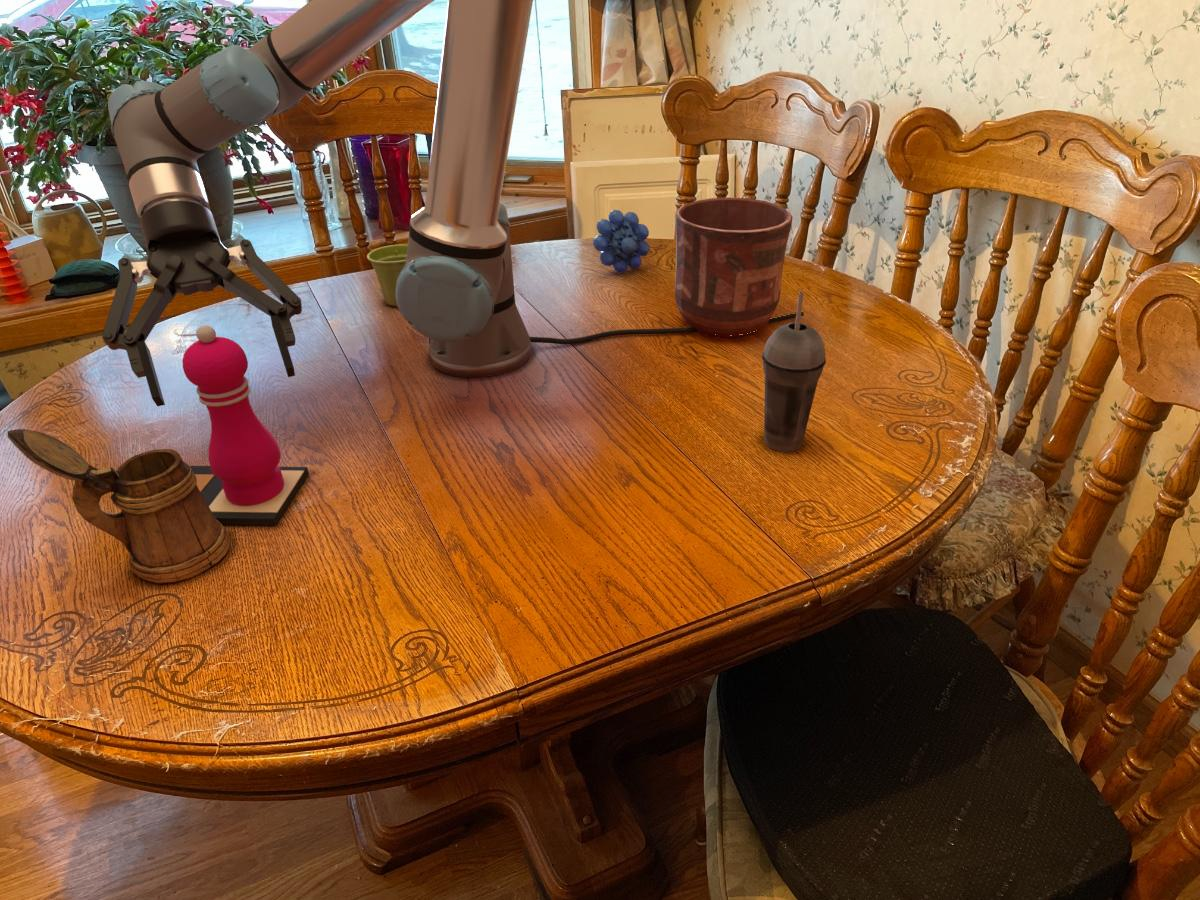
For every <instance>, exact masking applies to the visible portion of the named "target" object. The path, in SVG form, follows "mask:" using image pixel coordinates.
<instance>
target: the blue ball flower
mask: <svg viewBox="0 0 1200 900" xmlns="http://www.w3.org/2000/svg"><path fill="white" fill-rule="evenodd" d="M596 230H597V232H598V234H597V235H596V236H595V237H594V238H593V240H592V245H593V247H594V249H595V250H596V251H597V252H600V254H599V261H600V262H601V264H602V266H605V267H611V266H612V267H613V269H614V271H616V272H617V273H621V274H624V273H625V272H627V270H628V269H629V268H631V269H632V270H633V269H634V270H637V269H639V268H640V266H642V262H643V260H642V258H641V257H646V256H648V255H649V253H650V251H651V247H650V244H649V243H648V242H647V241H646V240H647V239H648V237H649V235H650V232H649V229H648V226H647V225H645V224H644V223H640V219H639V217H638V214H636V213H635V212H634V211H627V212H626V213H625V214H624V213H623V212H622V211H621V210H620V209H613V210H611V211H610V212H609V214H608V219H607V218H606V219H605V218H601V219H599V220H598V221H597V224H596Z"/></svg>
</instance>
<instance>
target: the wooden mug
mask: <svg viewBox="0 0 1200 900" xmlns="http://www.w3.org/2000/svg"><path fill="white" fill-rule="evenodd" d="M6 435H7V436H6V437H7V439H8V440H9V441H10V442H11V444H13V445H14V446H15V447H16V448H17V449H18V451H20V452H21V453H22V454H23V456H25V458H27V459H28V460H29V461H31V462H32V463H33V464H35V465H36V466H39V467H40V468H42V469H44V470H46V471H48V472H50V473H52V474H54V475H56V476H58V477H60V478H63V479H65V480H67V481H68V480H69V481H74V484H73V487H72V497H71V499H72V502H73V503H74V508H75V510H76V512H77V513H78V514H79V515H80V516H81V517H82V519H83V520H84V521H86V522H88V523H89V524H91V525H92V526H94V527H95V528H97V529H99V530H100V531H103V533H106V534H108V535H110V536H112V537H114V538H115V539H116V540H118V541H119V542H121V543H122V544H123V546H124V547H125V549H126V550H127V552H128V553H129V555H128V556H129V557H128V558H129V564H130V569H131V571H132V573H134V574H135V575H136V576H137V577H139V578H141V579H143V580H145V581H147V582H150V583H154V584H159V585H161V584H169V583H177V582H181V581H185V580H188V579H190V578H191V579H192V578H194V577H197V576H199V575H200V574H202V573H204V572H206V571H207V570H209V569H210V568H212V567H213V566H214V565H216V564H217V563H219V562H220V560H221V559H222V558H223V557H225V556H226V554H227V553H228V551H229V549H230V546H231V545H230V544H231V539H230V537H229V534H228V532H227V531H226V529H225V527H224V525H222V524H221V523H220V522H219V521H218V520H216V518H215V516H214V515H213V513H212V511H211V510H210V508H209V506H208V504H207V503H206V501H205V499H204V497H203V496H202V494H201V492H200V490H199V489H198V487H197V485H196V484H197V478H196V476H195V474H194V473H193V471H192V469H191V468H190V467H189V466H190V465H189V464H188V463H186V462H185V460H183V458H182V456H181V454H180V452H178V451H176V450H174V449H171V448H159V449H157V448H156V449H151V450H147V451H144V452H141V453H138V454H136V455H133V456H131V457H130V458H128V459H126V460H125V461H124V462H123V463H122V464H121V465H119V467H117V469H115V468H114V467H106V468H101V469H99V468H97V467H96V466H93V465H91V464H89V462H88V461H87V460H86V459H85V458H84V457H83V456H82V455H81V454H80V453H79V452H78V451H77V450H75V449H74V448H73V447H71V446H70V445H68V444H66V443H65V442H63V441H61V440H60V439H58V438H57V437H56V438H55V437H54V436H51V435H49V434H47V433H44V432H43V431H38V430H33V429H27V428H17V429H11V430H8V431H7V434H6ZM109 493H112V494H111V496H110V500H111V502H112V504H113V505H114V506H115V507H116V508H118V509H120V512H118V513H107V512H106V511H103V510H102V509H101V506H100V500H101V498H102V497H103V496H105V495H107V494H109Z"/></svg>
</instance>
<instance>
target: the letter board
mask: <svg viewBox="0 0 1200 900" xmlns="http://www.w3.org/2000/svg"><path fill="white" fill-rule="evenodd" d="M189 467H190V468H191V469H192V471H193V473H194V474H195V476H196V478H197V484H196V485H197V487H198V489H199V490H200V492H201V494H202V496H203V497H204V499H205V501H206V503H207V504H208V506H209V508H210V510H211V511H212V513H213V515H214V516H215V518H216V520H218V521H219V522H220V523H221V524H222V526H258V527H259V526H261V527H263V526H264V527H265V526H267V527H270V526H271V527H276V526H277V524H278V523H279V522H280V520H281V518H282V517H283V515H284V513H285V512H286V510H287V509H288V507H289V506H290V504H291V502H292V501H293V499H294V498H295V496H296V494H297V493H298V491H299V490H300V488H301V487H302V485H303V483H305V481H306V479H307V478H308V476H309V474H310V473H309V469H308V466H278V467H279V468H280V469H281V472H282V475H283V479H284V487H283V489H282V490H281V492H280V493H279V494H277V495H276V496H275V497H273V498H272V499H270V500H267V501H265V502H262V503H259V504H255V505H247V506H246V505H236V504H233V503H231V502H230V501H228V499H227V498H226V495H225V492H224V490H223V487H222V482H223V480H221V479H219V478H218V477H216V476H215V475H214V473H213V472H212V470H211V467H210V465H189Z"/></svg>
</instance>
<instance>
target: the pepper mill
mask: <svg viewBox="0 0 1200 900" xmlns="http://www.w3.org/2000/svg"><path fill="white" fill-rule="evenodd" d="M215 330H216V329H214V328H213V326H210V325H206V324H203V325H201V326H199V327H198V328H197V329H196V331H195V332H196V333H195V335H196V338H197V339H198V340H196V341H195V342H193V343H191V344H190V345H189V346H188V347H187V349H185V351H184V354H183V356H182V369H183V373H184V375H185V377H186V378H187V380H188V381H189V382H190V383H192V384H193V385H195V386H196V393H197V395H198V400H199V402H200V403H201V404H202V405H203V406H206V409H207V411H208V414H209V415H208V416H209V419H210V428H211V429H210V431H211V432H210V438H209V445H208V462H209V466H210V467H211V470H212V472H213V473H214V475H215V476H216V477H218V478H219V479H221V480H223V482H222V487H223V490H224V492H225V495H226V498H227V499H228V501H230V502H231V503H233V504H236V505H246V506H247V505H255V504H259V503H262V502H265V501H267V500H270V499H272V498H273V497H275V496H276V495H277V494H279V493H280V492H281V490H282V489H283V487H284V479H283V475H282V472H281V469H280V468H279V467H280V466H279V463H280V461H281V458H282V457H281V456H282V453H281V449H280V446H279V444H278V441H277V440H276V438H275V437H274V435H273V433H272V432H271V431H270V430H269V429H268V428H267V426H265V425H264V423H262V421H261V420H260V419H259V418H258V416H257V415H256V413H255V411H254V410H253V407H252V405H251V402H250V398H249V395H250V393H251V391H252V389H251V386H250V385H249V379H248V377H246V376H245V375H246V373H247V371H248V367H249V362H248V357H247V355H246V353H245V350H244V349H243V348H242V346H241V345H240V344H239V343H237V342H236V341H235V340H234V339H230V338H228V337H224V336H217V332H216V331H215Z"/></svg>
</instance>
